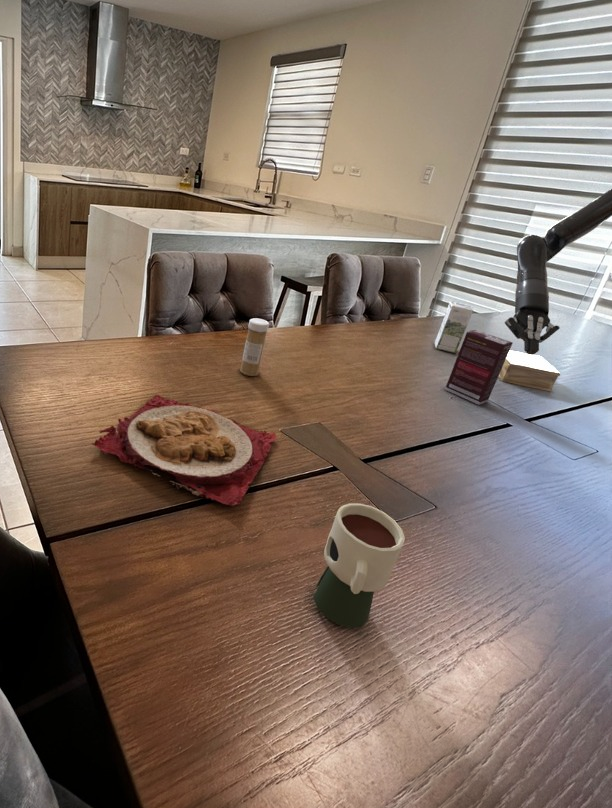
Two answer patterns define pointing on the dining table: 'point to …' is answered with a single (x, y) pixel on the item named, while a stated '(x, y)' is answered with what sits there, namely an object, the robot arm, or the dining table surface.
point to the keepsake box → (527, 377)
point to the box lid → (530, 363)
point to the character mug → (357, 563)
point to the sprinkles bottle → (254, 346)
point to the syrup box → (453, 327)
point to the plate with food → (191, 448)
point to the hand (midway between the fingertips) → (531, 353)
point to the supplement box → (478, 366)
